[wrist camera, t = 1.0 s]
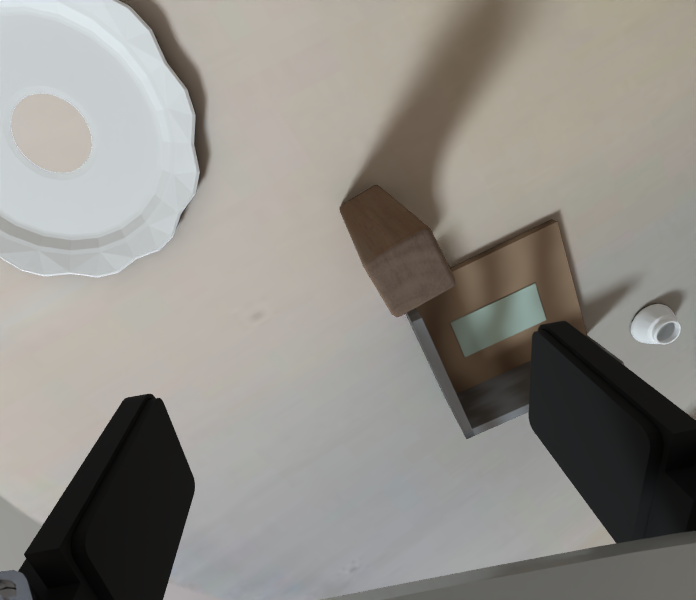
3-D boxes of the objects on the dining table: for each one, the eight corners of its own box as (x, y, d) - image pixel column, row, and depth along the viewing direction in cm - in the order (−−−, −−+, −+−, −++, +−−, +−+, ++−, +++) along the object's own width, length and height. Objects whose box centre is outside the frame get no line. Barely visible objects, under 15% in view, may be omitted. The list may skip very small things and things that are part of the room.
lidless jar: (653, 294, 49) (620, 326, 50) (673, 305, 46) (638, 338, 47) (676, 316, 50) (644, 346, 52) (697, 327, 48) (663, 359, 49)
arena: (551, 219, 44) (594, 236, 37) (583, 337, 50) (624, 369, 44) (396, 294, 45) (412, 322, 39) (446, 399, 52) (466, 439, 45)
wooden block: (417, 258, 44) (486, 340, 27) (380, 279, 44) (426, 372, 28) (377, 182, 40) (429, 224, 24) (337, 206, 41) (361, 263, 24)
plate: (-69, -132, 29) (-93, -148, 27) (252, 90, 36) (249, 89, 35) (-148, 179, 36) (-171, 182, 34) (135, 313, 43) (128, 321, 42)
